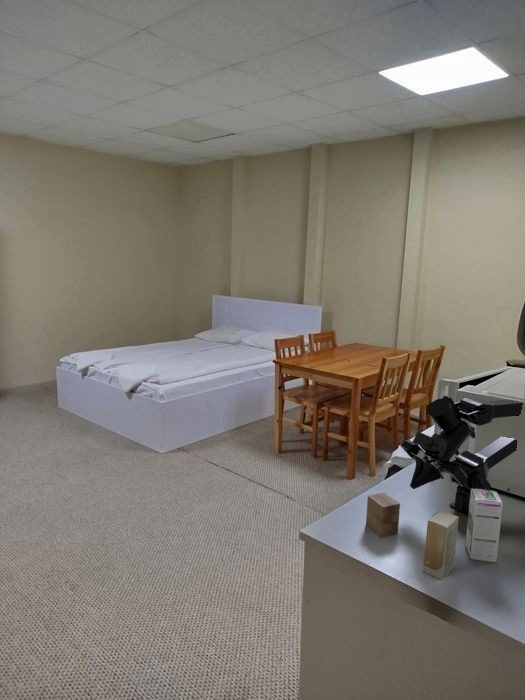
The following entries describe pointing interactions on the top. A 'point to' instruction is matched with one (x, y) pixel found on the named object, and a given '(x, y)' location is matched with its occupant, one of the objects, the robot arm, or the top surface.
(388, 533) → the walnut block
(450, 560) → the skincare box
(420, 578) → the top surface
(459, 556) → the top surface
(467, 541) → the syrup box
